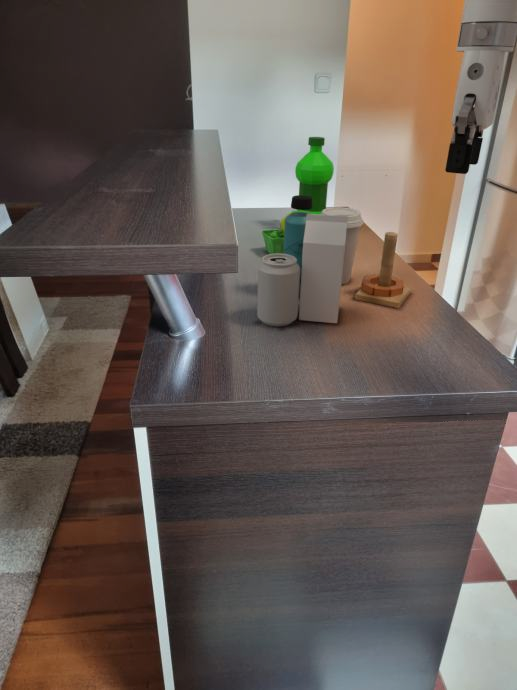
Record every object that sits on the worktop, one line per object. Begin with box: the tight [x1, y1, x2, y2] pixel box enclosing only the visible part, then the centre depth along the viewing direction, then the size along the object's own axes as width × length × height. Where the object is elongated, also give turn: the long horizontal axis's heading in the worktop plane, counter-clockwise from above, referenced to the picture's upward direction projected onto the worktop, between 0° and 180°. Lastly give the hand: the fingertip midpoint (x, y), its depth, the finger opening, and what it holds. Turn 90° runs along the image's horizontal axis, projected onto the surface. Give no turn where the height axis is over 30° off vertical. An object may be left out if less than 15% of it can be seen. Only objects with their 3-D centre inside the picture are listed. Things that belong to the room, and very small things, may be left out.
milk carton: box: [298, 214, 348, 324], centre depth 93 cm, size 7×7×19 cm
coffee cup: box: [321, 206, 364, 285], centre depth 111 cm, size 10×10×15 cm
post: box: [354, 231, 411, 309], centre depth 103 cm, size 9×9×13 cm
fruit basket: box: [261, 210, 298, 254], centre depth 127 cm, size 11×9×11 cm
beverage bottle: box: [282, 194, 313, 294], centre depth 102 cm, size 6×7×20 cm
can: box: [256, 253, 300, 327], centre depth 93 cm, size 8×8×12 cm
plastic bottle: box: [294, 136, 335, 215], centre depth 142 cm, size 10×10×25 cm
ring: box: [360, 273, 405, 297], centre depth 106 cm, size 8×8×2 cm
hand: (461, 168), depth 80 cm, fingers open, 9 cm apart
